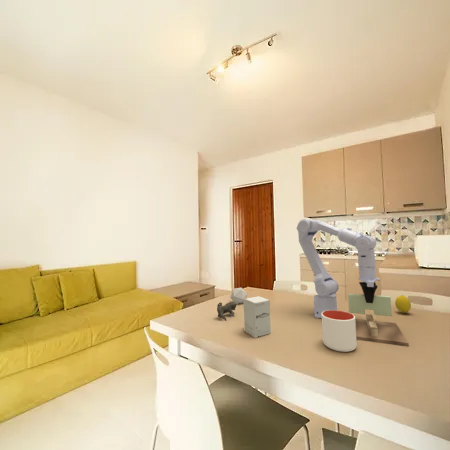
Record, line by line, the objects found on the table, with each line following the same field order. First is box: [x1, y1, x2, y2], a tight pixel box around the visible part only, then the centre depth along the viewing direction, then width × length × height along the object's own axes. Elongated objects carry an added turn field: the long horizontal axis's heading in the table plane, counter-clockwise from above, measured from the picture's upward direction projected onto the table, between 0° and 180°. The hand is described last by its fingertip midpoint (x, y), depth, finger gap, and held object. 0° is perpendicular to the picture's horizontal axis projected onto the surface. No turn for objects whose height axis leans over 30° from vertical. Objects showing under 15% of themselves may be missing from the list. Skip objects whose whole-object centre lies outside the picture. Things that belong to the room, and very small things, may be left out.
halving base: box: [355, 313, 410, 347], centre depth 88 cm, size 18×18×4 cm
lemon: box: [394, 294, 412, 314], centre depth 105 cm, size 6×6×8 cm
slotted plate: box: [347, 293, 393, 317], centre depth 93 cm, size 14×2×7 cm, turn 66°
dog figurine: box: [216, 301, 238, 320], centre depth 110 cm, size 12×6×8 cm, turn 134°
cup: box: [321, 309, 358, 353], centre depth 78 cm, size 10×10×10 cm
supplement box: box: [243, 295, 272, 338], centre depth 91 cm, size 7×7×13 cm
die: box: [229, 287, 248, 305], centre depth 130 cm, size 8×9×10 cm
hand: (369, 301), depth 93 cm, fingers closed on slotted plate, 2 cm apart
